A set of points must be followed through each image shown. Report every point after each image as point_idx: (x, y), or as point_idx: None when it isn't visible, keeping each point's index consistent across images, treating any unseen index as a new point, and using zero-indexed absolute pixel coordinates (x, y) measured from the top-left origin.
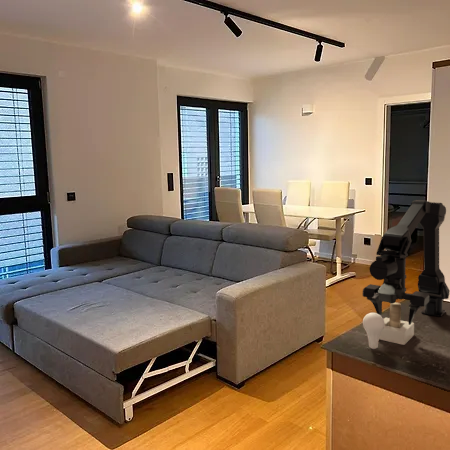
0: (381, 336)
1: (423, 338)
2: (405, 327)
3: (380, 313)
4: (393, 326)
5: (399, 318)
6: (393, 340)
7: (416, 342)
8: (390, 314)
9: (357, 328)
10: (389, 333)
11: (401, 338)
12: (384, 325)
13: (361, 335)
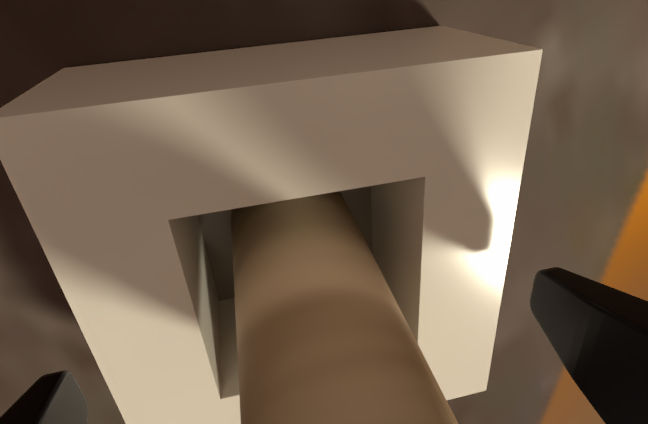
0: (375, 38)
1: (50, 351)
2: (128, 307)
3: (597, 344)
4: (297, 238)
5: (242, 400)
6: (210, 57)
7: (22, 231)
8: (424, 387)
9: (645, 153)
10: (277, 67)
11: (83, 81)
12: (417, 173)
13: (588, 7)
